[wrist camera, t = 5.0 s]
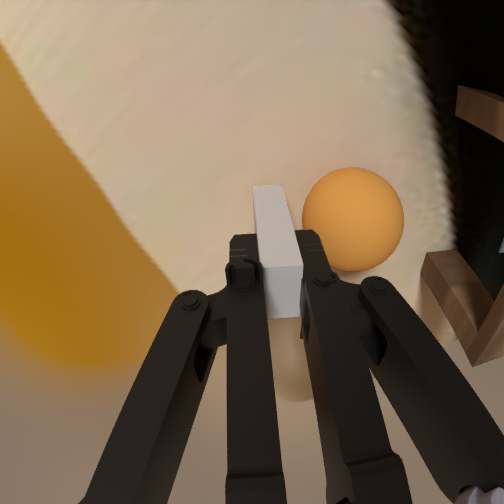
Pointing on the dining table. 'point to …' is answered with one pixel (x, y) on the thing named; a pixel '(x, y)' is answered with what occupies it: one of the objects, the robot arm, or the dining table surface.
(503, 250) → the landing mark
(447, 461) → the robot arm
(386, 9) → the dining table surface
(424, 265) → the bridge
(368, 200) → the ball
